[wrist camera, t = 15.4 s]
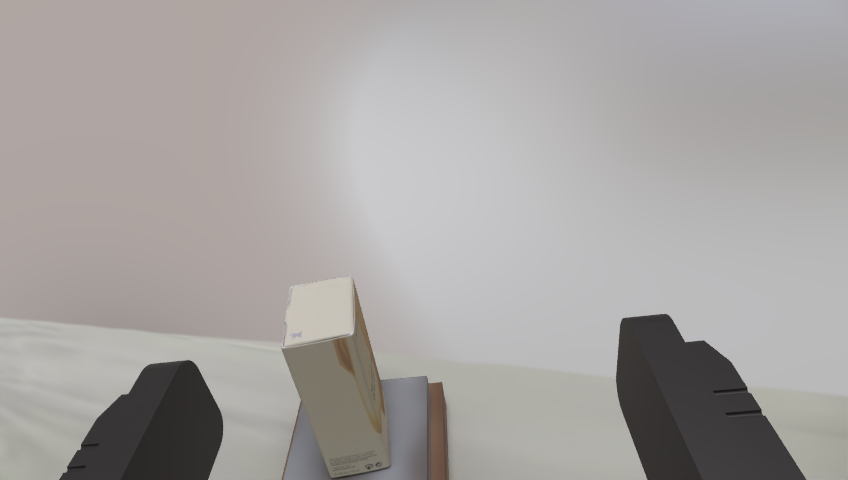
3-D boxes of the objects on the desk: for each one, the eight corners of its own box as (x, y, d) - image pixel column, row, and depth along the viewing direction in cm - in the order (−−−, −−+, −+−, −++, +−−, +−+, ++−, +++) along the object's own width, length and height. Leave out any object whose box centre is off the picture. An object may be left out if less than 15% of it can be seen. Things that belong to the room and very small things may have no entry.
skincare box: (392, 469, 37) (355, 337, 30) (329, 481, 37) (278, 352, 30) (386, 396, 42) (353, 271, 36) (331, 406, 42) (288, 283, 35)
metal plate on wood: (446, 406, 47) (438, 365, 44) (451, 548, 37) (442, 506, 34) (311, 418, 48) (296, 379, 45) (280, 559, 38) (258, 520, 35)
